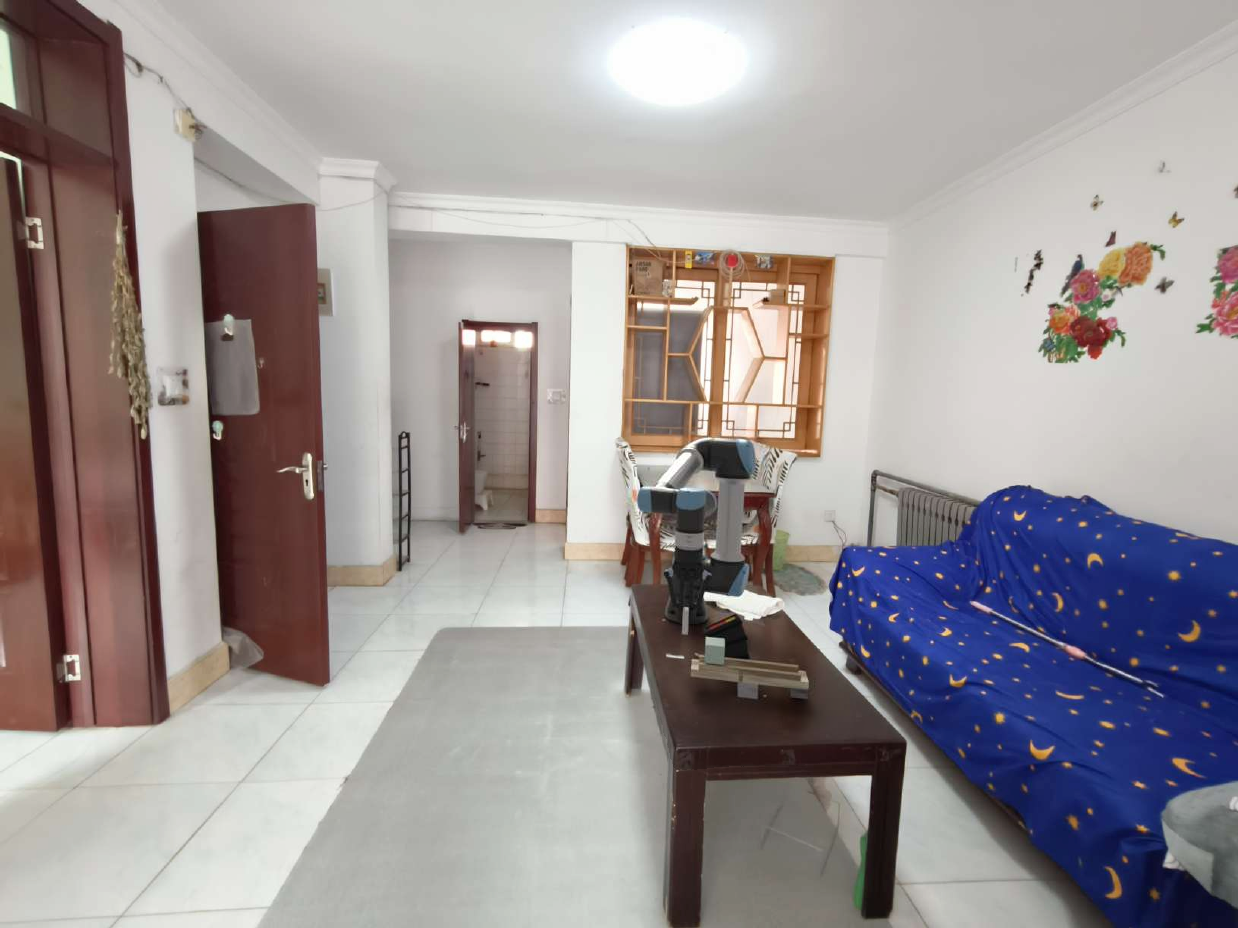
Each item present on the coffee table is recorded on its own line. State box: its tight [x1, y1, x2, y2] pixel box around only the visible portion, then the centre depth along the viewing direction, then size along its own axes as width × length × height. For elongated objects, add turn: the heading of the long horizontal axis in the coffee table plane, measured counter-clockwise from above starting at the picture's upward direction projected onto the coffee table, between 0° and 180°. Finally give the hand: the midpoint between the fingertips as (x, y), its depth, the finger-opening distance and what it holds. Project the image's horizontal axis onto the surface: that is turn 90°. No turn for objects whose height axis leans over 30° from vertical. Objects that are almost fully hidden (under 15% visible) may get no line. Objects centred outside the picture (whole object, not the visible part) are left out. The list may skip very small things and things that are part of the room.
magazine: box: [702, 613, 751, 660], centre depth 159 cm, size 4×13×15 cm, turn 92°
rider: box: [704, 636, 725, 665], centre depth 145 cm, size 5×5×7 cm
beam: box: [690, 654, 810, 700], centre depth 144 cm, size 6×30×8 cm, turn 80°
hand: (685, 632), depth 146 cm, fingers closed
